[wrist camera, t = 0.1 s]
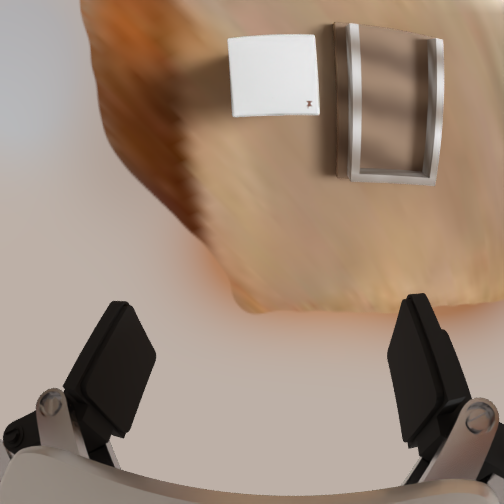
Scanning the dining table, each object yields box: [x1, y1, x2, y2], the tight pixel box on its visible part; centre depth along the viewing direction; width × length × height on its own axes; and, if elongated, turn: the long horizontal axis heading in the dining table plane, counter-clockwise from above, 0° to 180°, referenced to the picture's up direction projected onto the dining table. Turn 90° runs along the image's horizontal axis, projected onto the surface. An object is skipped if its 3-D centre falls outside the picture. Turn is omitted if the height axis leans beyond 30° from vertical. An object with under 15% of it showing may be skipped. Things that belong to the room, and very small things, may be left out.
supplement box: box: [227, 34, 320, 117], centre depth 26 cm, size 7×7×13 cm
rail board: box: [333, 22, 444, 186], centre depth 29 cm, size 20×14×4 cm
